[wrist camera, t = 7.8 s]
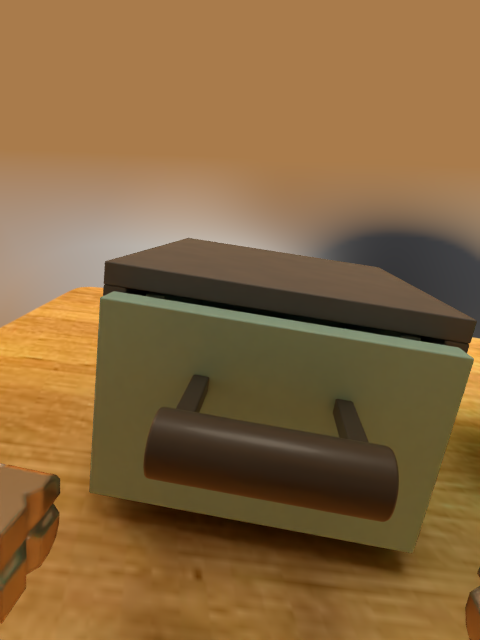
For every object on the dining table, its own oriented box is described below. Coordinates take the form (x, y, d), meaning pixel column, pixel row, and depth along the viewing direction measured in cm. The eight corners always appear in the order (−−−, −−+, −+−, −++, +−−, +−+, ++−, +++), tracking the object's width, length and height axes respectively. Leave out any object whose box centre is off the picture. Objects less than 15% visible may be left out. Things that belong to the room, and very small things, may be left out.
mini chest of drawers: (409, 542, 17) (477, 320, 15) (91, 483, 18) (104, 260, 15) (349, 393, 32) (379, 267, 29) (173, 363, 32) (187, 237, 30)
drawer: (472, 704, 11) (583, 438, 9) (9, 610, 11) (8, 340, 9) (350, 397, 29) (377, 286, 26) (173, 367, 29) (185, 256, 27)
